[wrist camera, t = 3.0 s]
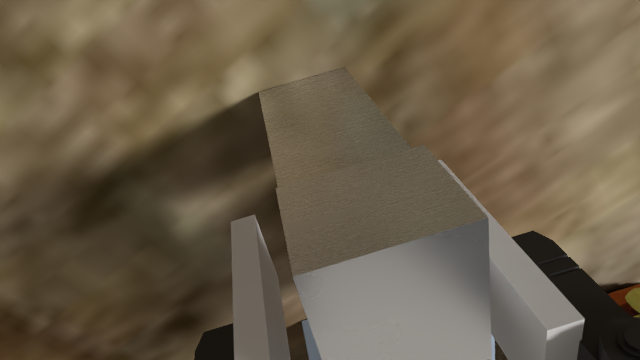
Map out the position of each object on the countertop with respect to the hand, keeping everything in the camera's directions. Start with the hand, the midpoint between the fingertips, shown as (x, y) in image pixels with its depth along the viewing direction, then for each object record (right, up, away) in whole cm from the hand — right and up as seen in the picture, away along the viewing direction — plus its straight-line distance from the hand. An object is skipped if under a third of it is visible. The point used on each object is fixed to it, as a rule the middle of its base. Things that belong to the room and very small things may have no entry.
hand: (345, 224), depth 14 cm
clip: (-1, +2, +3) cm, 3 cm away
